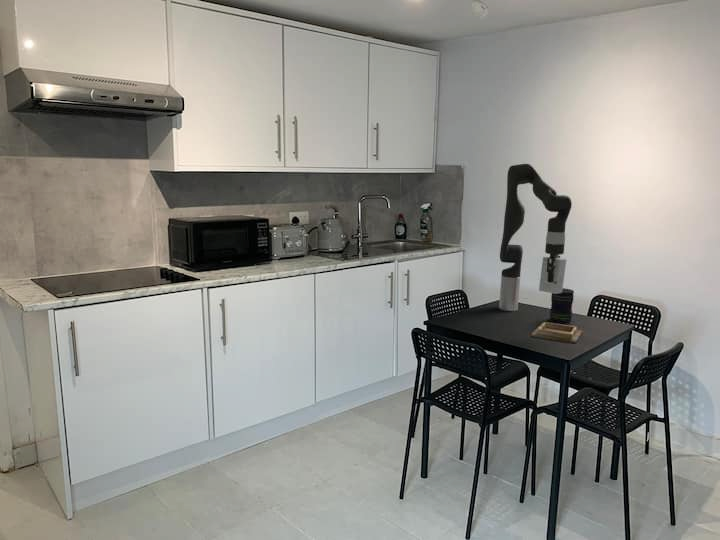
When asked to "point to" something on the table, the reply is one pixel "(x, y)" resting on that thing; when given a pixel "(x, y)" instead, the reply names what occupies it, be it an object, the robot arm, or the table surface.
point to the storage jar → (562, 306)
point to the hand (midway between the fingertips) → (552, 280)
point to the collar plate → (557, 332)
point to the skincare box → (557, 279)
